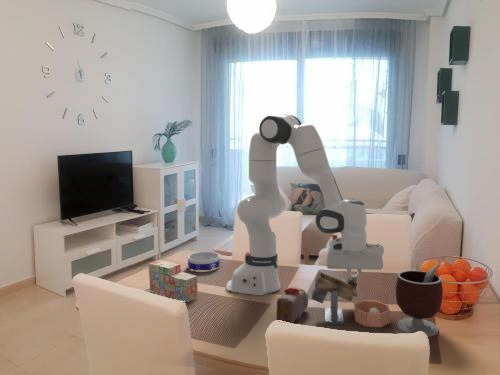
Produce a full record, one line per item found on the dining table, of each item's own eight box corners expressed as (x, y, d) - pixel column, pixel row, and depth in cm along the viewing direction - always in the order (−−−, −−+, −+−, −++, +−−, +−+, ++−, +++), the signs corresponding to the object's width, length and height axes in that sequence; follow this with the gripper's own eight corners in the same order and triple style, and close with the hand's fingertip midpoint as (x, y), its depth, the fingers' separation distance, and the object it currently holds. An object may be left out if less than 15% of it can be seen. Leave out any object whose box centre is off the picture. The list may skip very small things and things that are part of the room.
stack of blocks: (198, 298, 164) (197, 268, 163) (186, 304, 159) (185, 272, 158) (161, 287, 177) (160, 259, 175) (149, 292, 172) (148, 262, 171)
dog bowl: (206, 275, 192) (206, 262, 191) (181, 269, 201) (180, 257, 200) (226, 266, 205) (225, 254, 204) (201, 261, 213) (201, 249, 212)
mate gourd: (417, 341, 127) (419, 277, 124) (385, 323, 139) (386, 264, 137) (454, 331, 133) (457, 270, 131) (421, 314, 146) (422, 258, 143)
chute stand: (325, 324, 140) (325, 291, 138) (325, 310, 151) (325, 279, 149) (343, 325, 139) (344, 291, 137) (342, 311, 150) (342, 280, 148)
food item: (289, 306, 155) (288, 280, 154) (309, 310, 151) (309, 283, 150) (274, 321, 143) (273, 293, 141) (296, 325, 139) (296, 297, 138)
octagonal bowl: (355, 325, 138) (356, 312, 137) (353, 311, 149) (353, 299, 148) (391, 327, 136) (391, 314, 136) (386, 313, 147) (386, 301, 147)
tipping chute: (309, 298, 142) (318, 277, 140) (310, 280, 159) (319, 261, 158) (352, 317, 140) (362, 296, 139) (348, 297, 158) (357, 278, 156)
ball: (382, 314, 140) (376, 322, 141) (381, 310, 143) (374, 318, 144) (373, 308, 140) (367, 316, 141) (372, 303, 144) (365, 311, 144)
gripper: (382, 241, 154) (382, 278, 156) (325, 241, 158) (326, 276, 159) (385, 245, 148) (384, 284, 150) (325, 245, 151) (326, 282, 153)
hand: (354, 280), depth 154 cm, fingers closed
